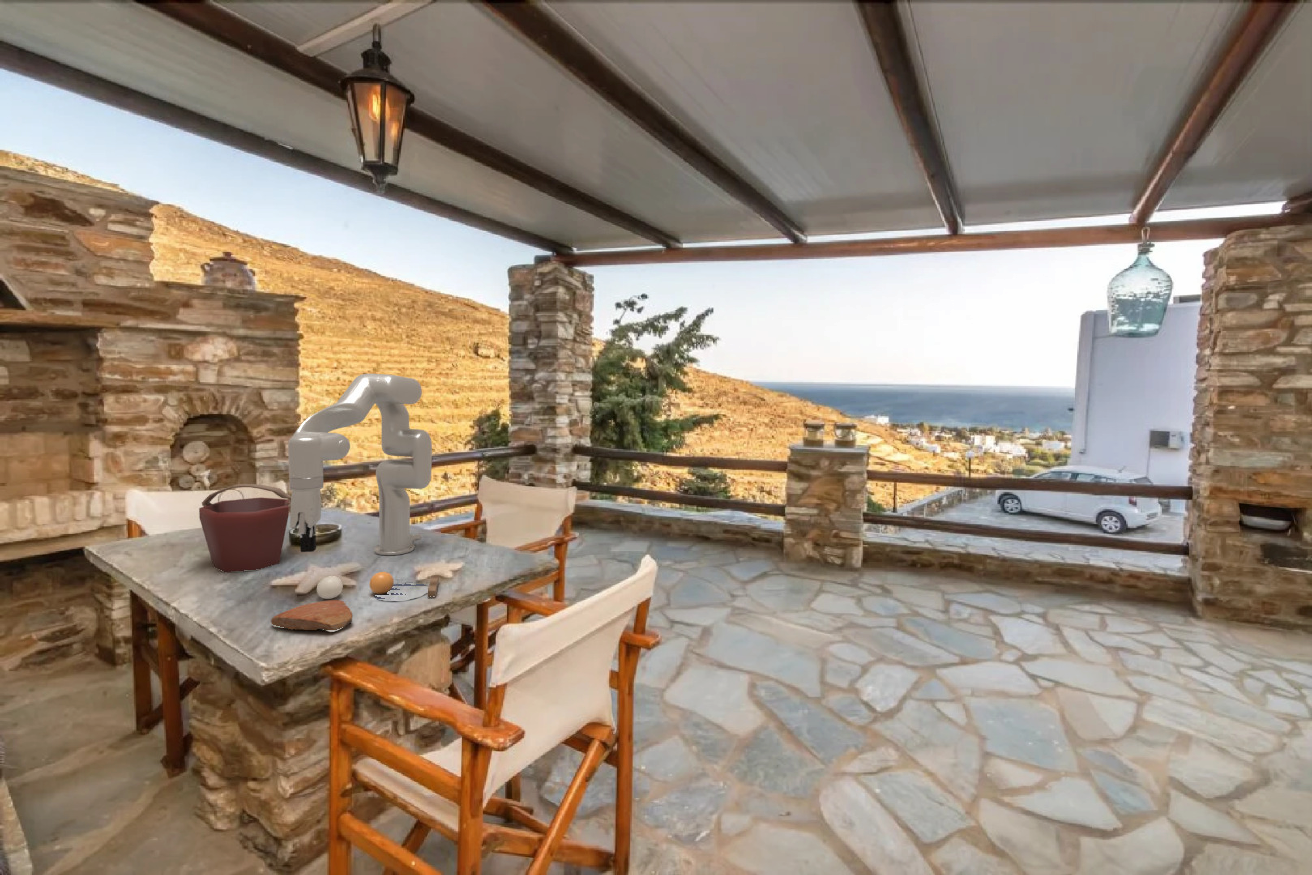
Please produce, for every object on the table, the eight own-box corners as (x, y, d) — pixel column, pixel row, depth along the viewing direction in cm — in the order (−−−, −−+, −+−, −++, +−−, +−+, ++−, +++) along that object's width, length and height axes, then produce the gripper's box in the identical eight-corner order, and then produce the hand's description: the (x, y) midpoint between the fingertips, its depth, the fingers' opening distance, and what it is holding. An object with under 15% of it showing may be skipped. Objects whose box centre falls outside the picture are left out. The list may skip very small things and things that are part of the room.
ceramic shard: (290, 624, 119) (268, 614, 128) (296, 652, 119) (274, 640, 129) (359, 597, 130) (335, 590, 140) (365, 623, 131) (340, 613, 140)
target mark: (407, 579, 161) (407, 579, 161) (440, 589, 155) (440, 588, 155) (362, 594, 149) (362, 594, 149) (397, 606, 143) (397, 605, 143)
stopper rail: (431, 582, 160) (431, 576, 160) (438, 582, 160) (438, 575, 160) (427, 598, 148) (427, 591, 148) (435, 597, 149) (435, 590, 149)
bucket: (311, 556, 179) (310, 481, 176) (255, 579, 157) (253, 494, 154) (242, 550, 181) (240, 476, 179) (178, 572, 159) (175, 488, 157)
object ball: (374, 572, 153) (392, 583, 155) (361, 589, 149) (380, 601, 151) (382, 564, 150) (401, 576, 152) (369, 582, 145) (389, 594, 147)
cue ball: (328, 572, 149) (344, 587, 150) (308, 588, 145) (325, 604, 146) (334, 570, 145) (350, 586, 146) (314, 586, 141) (330, 603, 142)
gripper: (299, 477, 148) (300, 543, 150) (279, 489, 134) (282, 561, 136) (330, 477, 150) (331, 541, 152) (314, 488, 136) (316, 559, 138)
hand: (308, 550), depth 144 cm, fingers closed
